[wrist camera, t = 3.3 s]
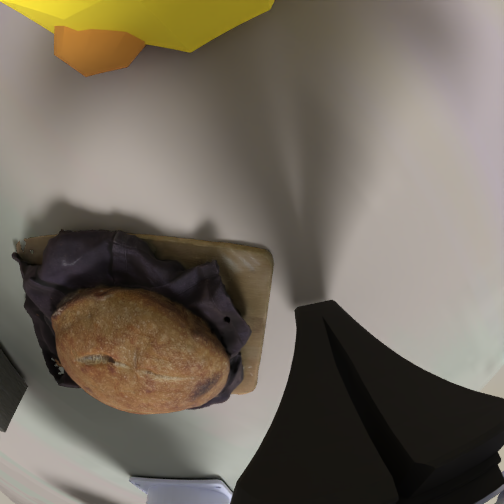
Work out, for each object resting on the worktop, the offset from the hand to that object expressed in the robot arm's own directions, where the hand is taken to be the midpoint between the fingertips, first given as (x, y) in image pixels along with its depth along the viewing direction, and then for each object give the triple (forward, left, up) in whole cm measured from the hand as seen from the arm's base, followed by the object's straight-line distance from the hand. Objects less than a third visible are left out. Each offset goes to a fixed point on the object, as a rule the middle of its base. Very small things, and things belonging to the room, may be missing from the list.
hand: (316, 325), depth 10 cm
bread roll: (+1, +7, -2) cm, 7 cm away
